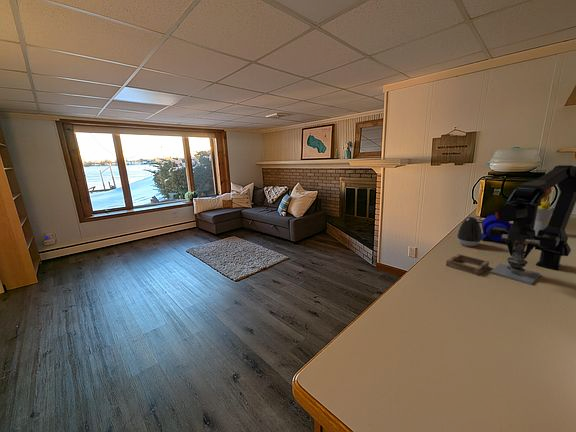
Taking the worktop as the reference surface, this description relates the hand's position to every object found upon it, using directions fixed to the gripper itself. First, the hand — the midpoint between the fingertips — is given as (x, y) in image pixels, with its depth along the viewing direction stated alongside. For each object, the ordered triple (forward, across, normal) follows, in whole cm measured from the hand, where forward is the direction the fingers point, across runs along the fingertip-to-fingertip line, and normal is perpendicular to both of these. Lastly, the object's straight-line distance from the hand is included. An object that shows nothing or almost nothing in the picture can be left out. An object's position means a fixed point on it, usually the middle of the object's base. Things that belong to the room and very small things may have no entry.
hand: (517, 257), depth 92 cm
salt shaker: (+5, 0, 0) cm, 5 cm away
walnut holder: (+7, -14, -6) cm, 17 cm away
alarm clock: (+8, -18, +41) cm, 45 cm away
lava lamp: (+8, -7, +71) cm, 72 cm away
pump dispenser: (+8, -24, +23) cm, 34 cm away
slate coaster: (+7, 0, 0) cm, 7 cm away
